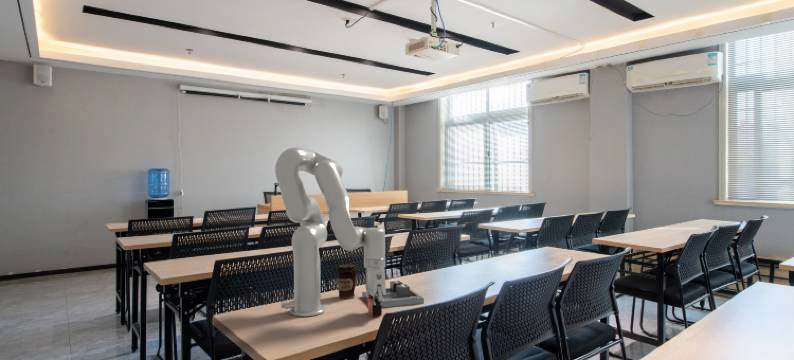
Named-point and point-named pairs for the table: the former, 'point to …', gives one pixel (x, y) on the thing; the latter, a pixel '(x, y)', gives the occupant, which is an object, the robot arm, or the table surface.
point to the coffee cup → (346, 280)
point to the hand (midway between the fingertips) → (374, 312)
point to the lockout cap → (370, 306)
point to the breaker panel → (394, 300)
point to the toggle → (402, 291)
